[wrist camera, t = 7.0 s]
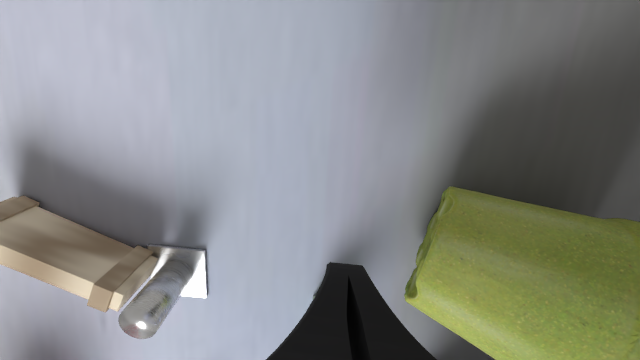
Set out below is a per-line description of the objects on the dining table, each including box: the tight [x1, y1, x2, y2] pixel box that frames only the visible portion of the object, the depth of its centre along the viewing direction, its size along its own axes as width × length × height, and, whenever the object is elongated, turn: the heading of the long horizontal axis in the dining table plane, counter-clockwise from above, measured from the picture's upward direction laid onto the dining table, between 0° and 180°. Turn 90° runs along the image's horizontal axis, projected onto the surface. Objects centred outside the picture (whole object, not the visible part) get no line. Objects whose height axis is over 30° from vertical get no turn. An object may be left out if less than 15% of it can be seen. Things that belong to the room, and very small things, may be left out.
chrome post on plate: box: [119, 244, 207, 339], centre depth 18 cm, size 4×4×4 cm
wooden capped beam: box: [0, 196, 158, 312], centre depth 17 cm, size 9×2×4 cm, turn 63°
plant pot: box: [404, 187, 640, 360], centre depth 14 cm, size 9×9×9 cm
